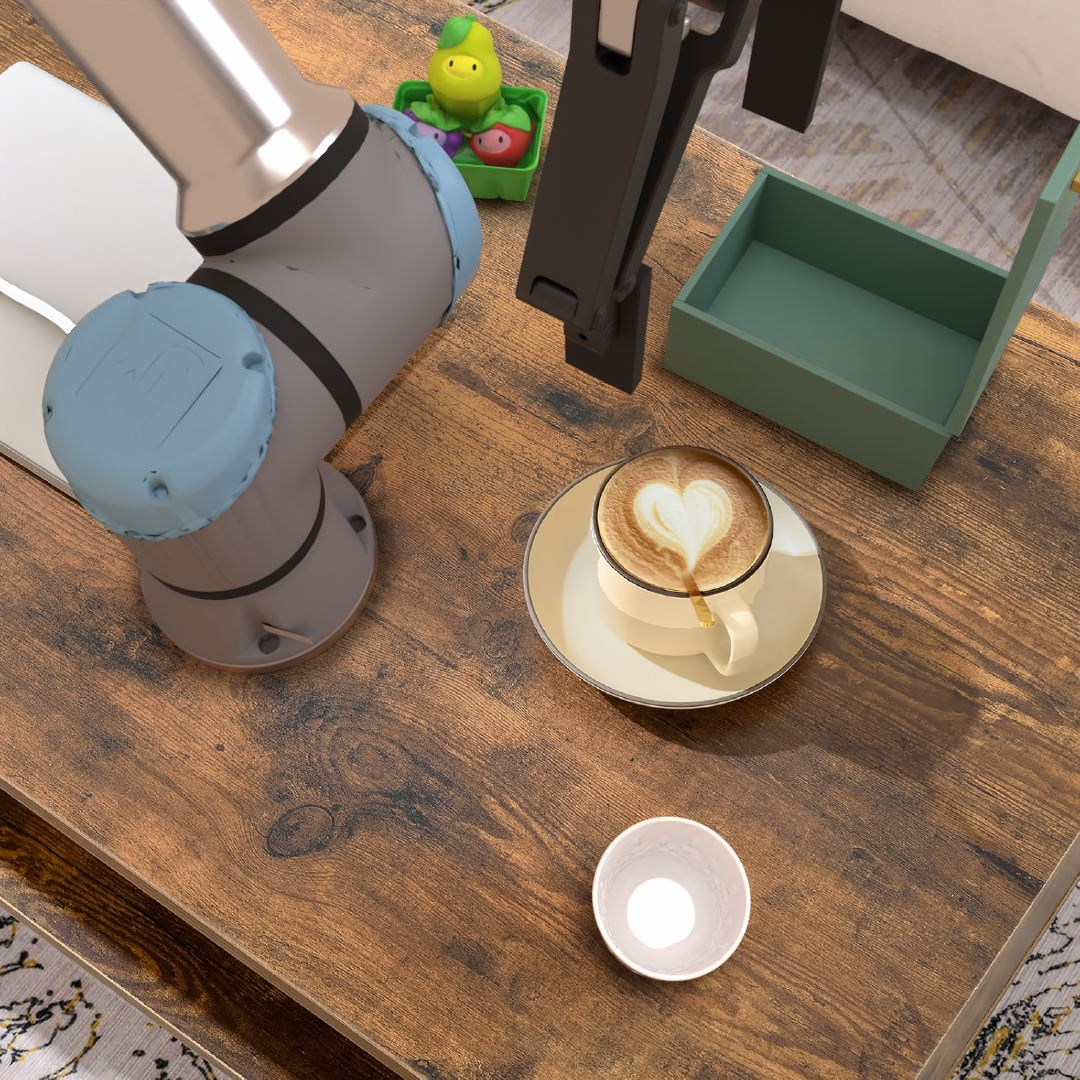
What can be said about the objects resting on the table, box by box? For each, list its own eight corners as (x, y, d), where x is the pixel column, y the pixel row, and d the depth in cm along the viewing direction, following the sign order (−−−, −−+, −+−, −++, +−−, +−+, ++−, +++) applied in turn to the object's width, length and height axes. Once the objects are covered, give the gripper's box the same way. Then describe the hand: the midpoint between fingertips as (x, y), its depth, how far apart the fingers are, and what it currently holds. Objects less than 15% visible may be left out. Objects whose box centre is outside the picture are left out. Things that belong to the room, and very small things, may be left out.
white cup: (562, 902, 67) (560, 881, 58) (667, 818, 69) (680, 785, 60) (649, 1018, 65) (661, 1015, 56) (755, 928, 67) (783, 911, 57)
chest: (662, 367, 81) (670, 304, 74) (749, 235, 86) (764, 164, 79) (916, 492, 77) (949, 438, 70) (993, 346, 81) (1032, 281, 74)
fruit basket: (389, 205, 88) (364, 93, 77) (409, 115, 91) (388, -3, 81) (538, 217, 87) (533, 106, 77) (553, 126, 90) (550, 8, 80)
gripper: (654, 44, 19) (615, 547, 38) (1174, -652, 27) (924, 55, 47) (287, -111, 21) (427, 445, 40) (879, -722, 29) (757, -12, 48)
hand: (694, 237), depth 43 cm, fingers open, 13 cm apart
